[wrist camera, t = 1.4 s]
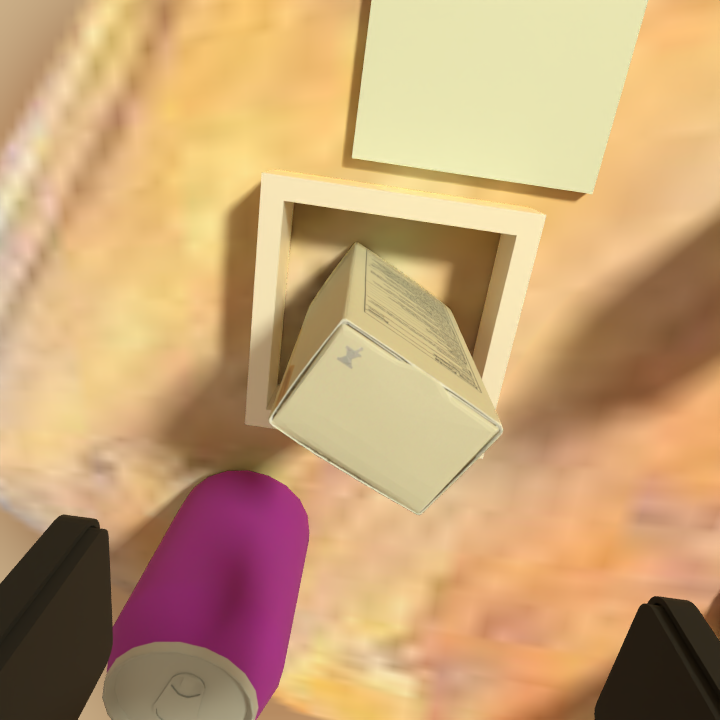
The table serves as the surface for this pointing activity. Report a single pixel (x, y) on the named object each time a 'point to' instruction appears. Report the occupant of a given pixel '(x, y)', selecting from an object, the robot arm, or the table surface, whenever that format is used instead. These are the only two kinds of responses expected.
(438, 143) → the mat
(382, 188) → the collar
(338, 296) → the skincare box
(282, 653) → the beverage can
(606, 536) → the table surface
